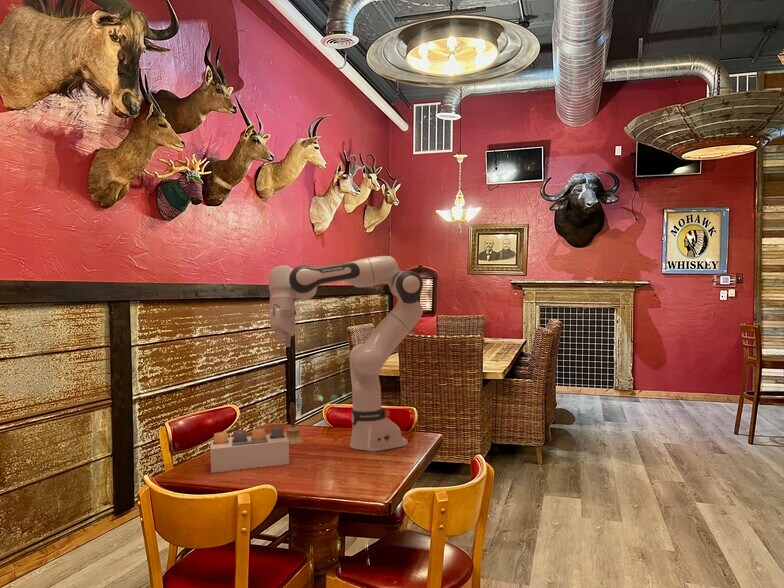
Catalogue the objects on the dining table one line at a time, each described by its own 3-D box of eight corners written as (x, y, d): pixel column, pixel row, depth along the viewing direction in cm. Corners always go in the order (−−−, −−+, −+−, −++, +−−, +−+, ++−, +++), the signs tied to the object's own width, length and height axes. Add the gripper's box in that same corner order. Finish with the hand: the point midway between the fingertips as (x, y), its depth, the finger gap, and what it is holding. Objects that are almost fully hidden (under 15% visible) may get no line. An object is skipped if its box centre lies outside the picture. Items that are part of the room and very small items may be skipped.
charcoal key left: (283, 443, 199) (282, 426, 199) (284, 447, 195) (283, 429, 195) (270, 445, 198) (270, 427, 198) (271, 448, 193) (271, 430, 193)
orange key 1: (227, 449, 193) (227, 431, 193) (227, 453, 189) (227, 434, 189) (214, 451, 192) (214, 432, 192) (214, 454, 188) (213, 435, 188)
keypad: (285, 454, 201) (285, 431, 201) (289, 464, 189) (288, 439, 189) (212, 462, 193) (211, 439, 193) (211, 473, 182) (210, 448, 182)
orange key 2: (264, 445, 197) (264, 427, 197) (265, 449, 193) (265, 430, 193) (252, 447, 196) (251, 429, 196) (253, 450, 191) (252, 432, 191)
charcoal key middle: (246, 447, 195) (245, 429, 195) (246, 451, 191) (246, 432, 191) (233, 449, 194) (233, 430, 194) (233, 452, 190) (233, 433, 190)
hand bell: (307, 441, 219) (306, 401, 219) (293, 446, 212) (292, 405, 212) (292, 438, 223) (291, 399, 223) (278, 443, 216) (277, 403, 216)
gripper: (281, 301, 193) (283, 339, 189) (297, 312, 213) (299, 347, 209) (264, 303, 193) (266, 341, 190) (281, 314, 213) (283, 349, 210)
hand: (283, 344), depth 200 cm, fingers open, 8 cm apart
